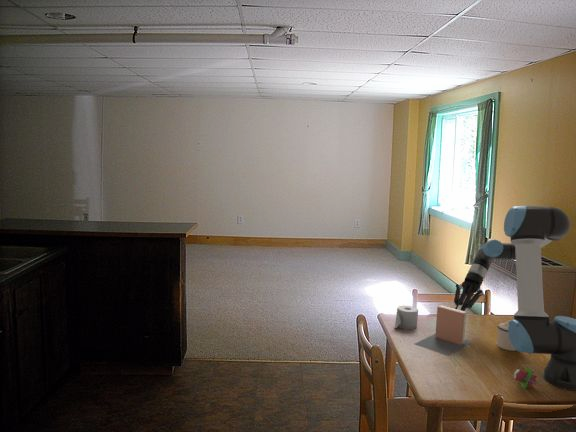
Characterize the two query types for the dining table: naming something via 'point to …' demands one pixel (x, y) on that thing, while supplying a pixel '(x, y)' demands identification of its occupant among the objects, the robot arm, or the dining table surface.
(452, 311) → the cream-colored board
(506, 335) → the teacup with lid
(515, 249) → the robot arm
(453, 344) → the mat
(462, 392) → the dining table surface
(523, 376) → the geometric puzzle
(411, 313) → the toilet tissue
